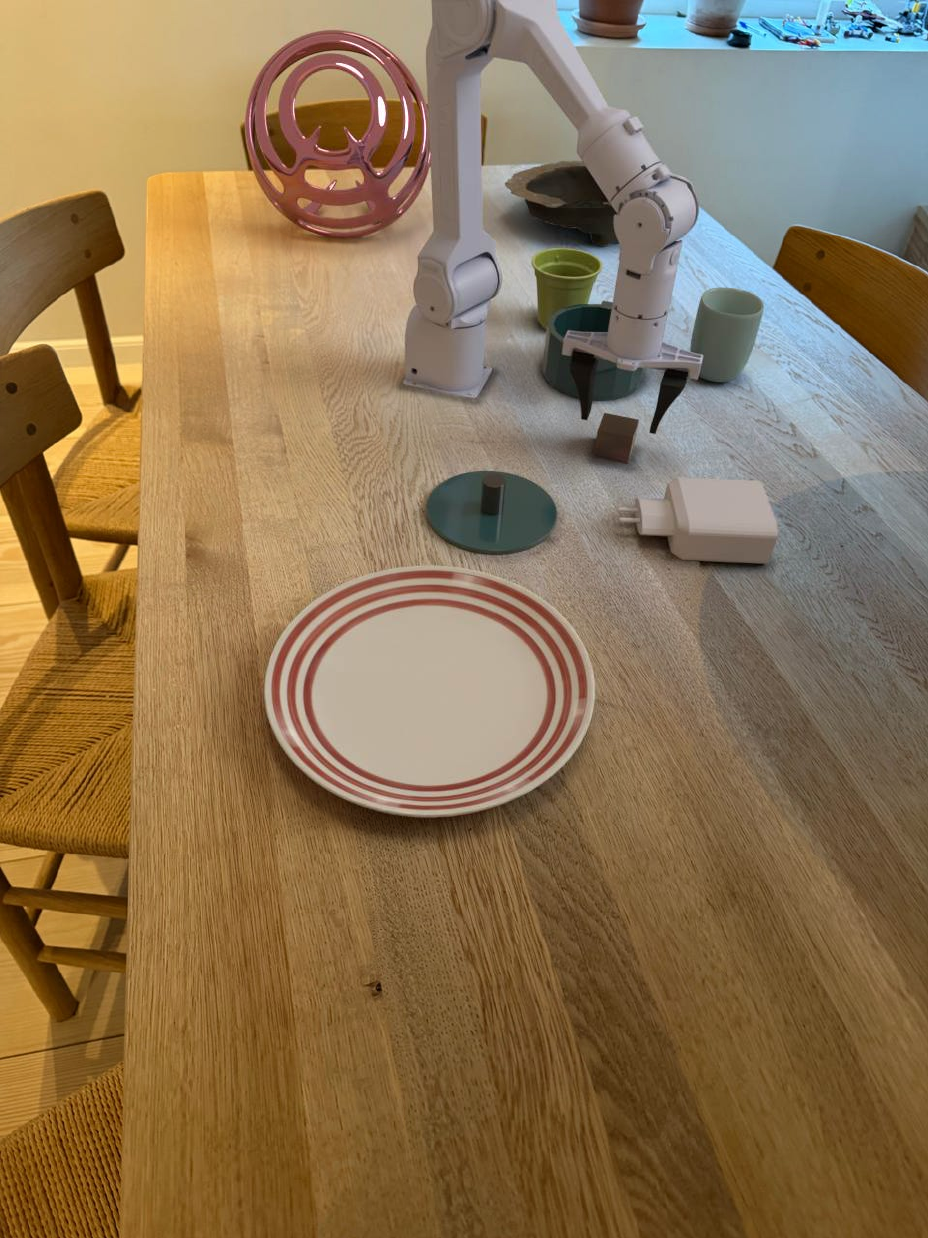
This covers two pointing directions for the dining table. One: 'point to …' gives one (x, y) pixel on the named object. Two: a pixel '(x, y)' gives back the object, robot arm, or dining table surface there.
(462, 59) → the robot arm
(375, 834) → the dining table surface
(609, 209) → the stone bowl
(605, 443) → the block
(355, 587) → the dinner plate
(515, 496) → the lid
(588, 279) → the plant pot
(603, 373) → the pot
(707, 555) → the charger
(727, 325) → the cup
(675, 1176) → the dining table surface
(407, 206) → the pink openwork sphere
